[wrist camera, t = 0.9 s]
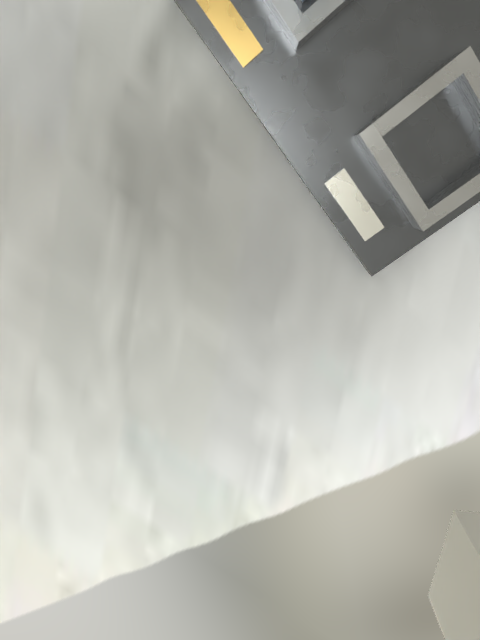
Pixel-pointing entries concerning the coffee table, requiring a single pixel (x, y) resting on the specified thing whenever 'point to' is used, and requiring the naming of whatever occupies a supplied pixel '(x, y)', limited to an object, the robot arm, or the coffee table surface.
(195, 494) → the coffee table surface
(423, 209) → the panel
